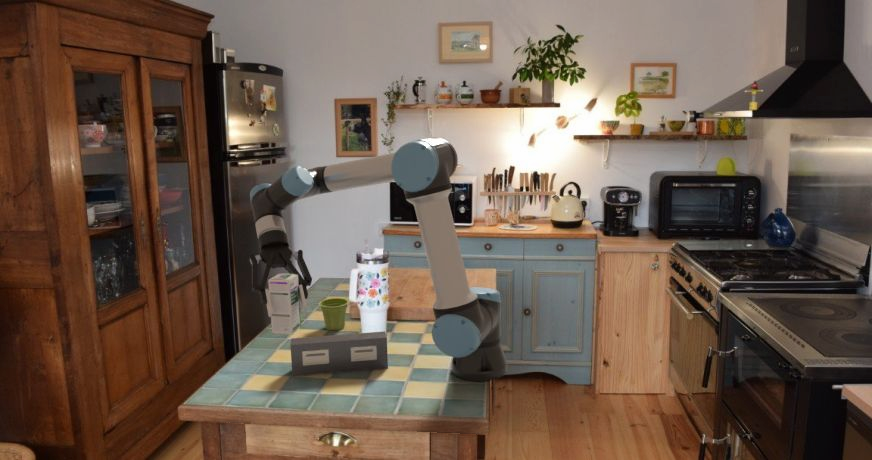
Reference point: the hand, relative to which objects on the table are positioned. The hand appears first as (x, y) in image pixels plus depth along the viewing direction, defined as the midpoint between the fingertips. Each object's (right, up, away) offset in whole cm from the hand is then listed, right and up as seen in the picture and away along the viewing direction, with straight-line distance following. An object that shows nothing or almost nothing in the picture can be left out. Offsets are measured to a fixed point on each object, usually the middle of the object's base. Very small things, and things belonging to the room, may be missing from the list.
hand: (287, 311), depth 170 cm
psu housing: (+11, -18, +19) cm, 28 cm away
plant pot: (+4, -12, +52) cm, 54 cm away
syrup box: (-1, -6, +4) cm, 7 cm away
